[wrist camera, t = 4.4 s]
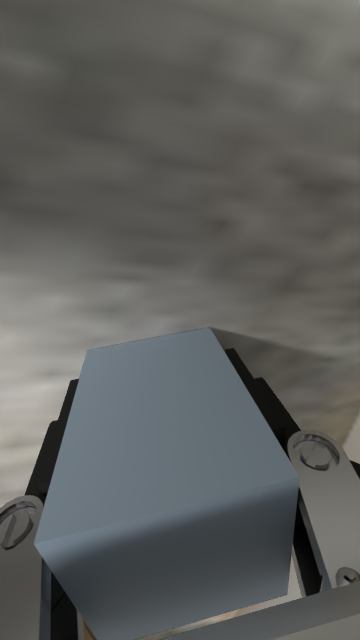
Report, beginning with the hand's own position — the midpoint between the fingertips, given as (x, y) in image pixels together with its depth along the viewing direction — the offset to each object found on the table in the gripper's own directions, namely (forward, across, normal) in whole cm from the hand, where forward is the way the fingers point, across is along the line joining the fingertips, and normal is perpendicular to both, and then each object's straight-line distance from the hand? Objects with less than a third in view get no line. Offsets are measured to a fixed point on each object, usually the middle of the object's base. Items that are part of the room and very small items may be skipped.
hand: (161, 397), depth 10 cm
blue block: (+1, 0, 0) cm, 1 cm away
